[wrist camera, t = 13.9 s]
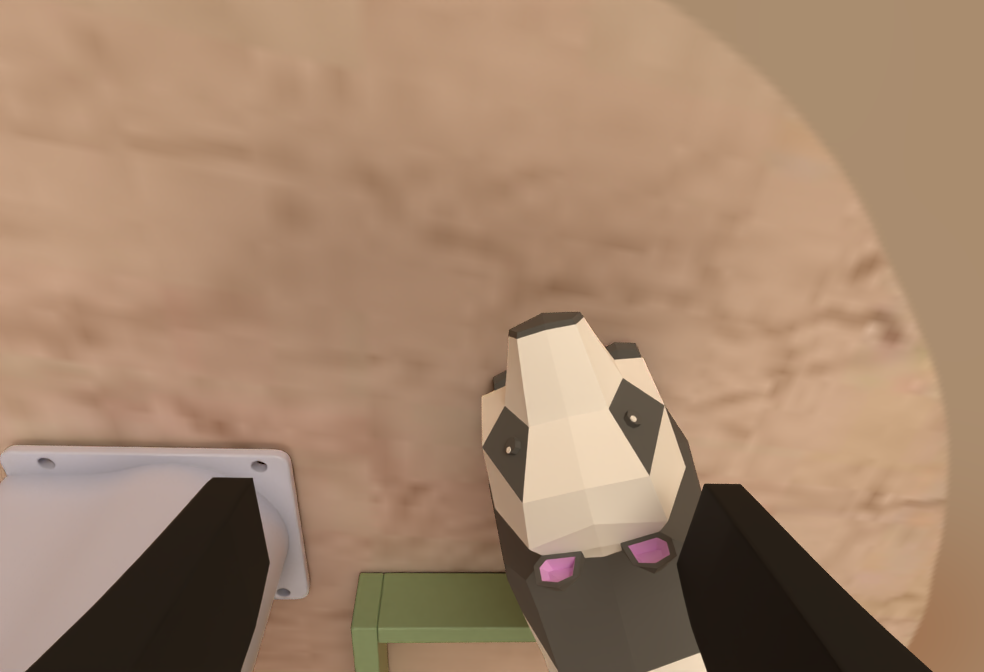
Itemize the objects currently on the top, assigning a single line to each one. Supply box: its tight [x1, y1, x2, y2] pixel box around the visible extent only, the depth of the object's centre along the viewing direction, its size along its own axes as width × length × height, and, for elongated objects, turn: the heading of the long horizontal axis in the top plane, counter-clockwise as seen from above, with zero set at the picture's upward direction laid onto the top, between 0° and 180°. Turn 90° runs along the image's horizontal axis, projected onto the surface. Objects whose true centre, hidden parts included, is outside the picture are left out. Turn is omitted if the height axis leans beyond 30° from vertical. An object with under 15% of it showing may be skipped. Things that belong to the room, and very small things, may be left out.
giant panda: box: [482, 312, 707, 672], centre depth 17 cm, size 15×6×10 cm, turn 16°
